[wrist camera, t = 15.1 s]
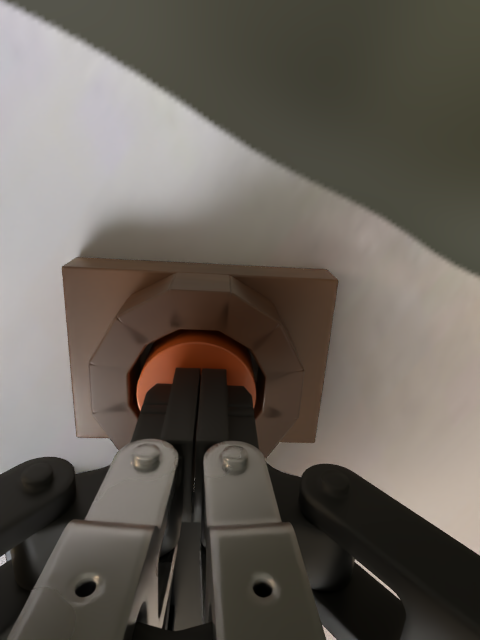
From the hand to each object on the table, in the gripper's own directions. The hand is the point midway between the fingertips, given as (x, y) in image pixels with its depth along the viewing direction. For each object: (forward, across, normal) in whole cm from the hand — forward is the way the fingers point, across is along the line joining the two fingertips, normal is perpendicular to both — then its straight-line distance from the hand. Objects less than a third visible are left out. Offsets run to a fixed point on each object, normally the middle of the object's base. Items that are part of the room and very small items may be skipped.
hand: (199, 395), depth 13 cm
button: (+2, 0, 0) cm, 2 cm away
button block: (+4, 0, 0) cm, 4 cm away
